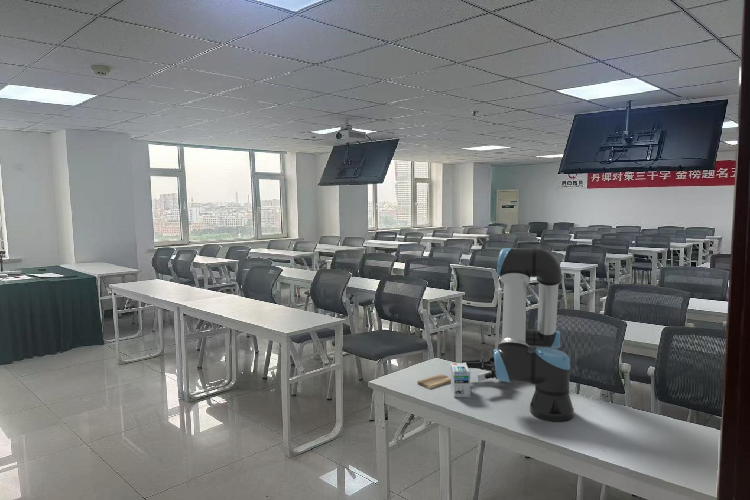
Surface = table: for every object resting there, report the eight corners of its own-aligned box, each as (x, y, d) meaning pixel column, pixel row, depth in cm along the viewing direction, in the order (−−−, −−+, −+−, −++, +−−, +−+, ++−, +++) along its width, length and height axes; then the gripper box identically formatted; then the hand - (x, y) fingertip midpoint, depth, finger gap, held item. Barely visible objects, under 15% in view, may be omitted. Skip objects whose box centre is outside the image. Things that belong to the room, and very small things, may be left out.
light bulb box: (470, 397, 197) (470, 371, 196) (453, 397, 197) (453, 371, 196) (466, 387, 207) (466, 362, 206) (450, 387, 208) (450, 362, 206)
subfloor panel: (453, 381, 214) (453, 378, 214) (429, 389, 206) (429, 386, 206) (441, 376, 220) (441, 374, 220) (417, 383, 212) (417, 381, 212)
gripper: (524, 379, 207) (489, 391, 195) (479, 364, 227) (445, 373, 215) (524, 362, 206) (489, 372, 194) (479, 348, 226) (445, 356, 214)
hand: (466, 373), depth 205 cm, fingers open, 13 cm apart
